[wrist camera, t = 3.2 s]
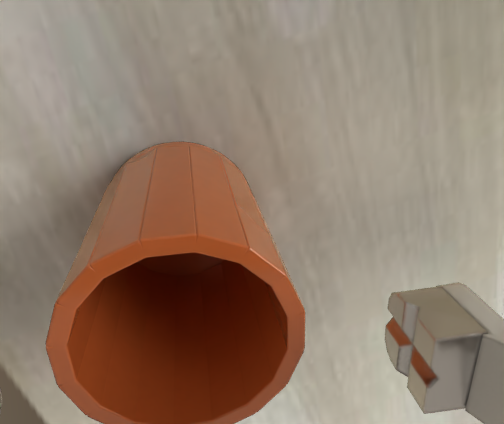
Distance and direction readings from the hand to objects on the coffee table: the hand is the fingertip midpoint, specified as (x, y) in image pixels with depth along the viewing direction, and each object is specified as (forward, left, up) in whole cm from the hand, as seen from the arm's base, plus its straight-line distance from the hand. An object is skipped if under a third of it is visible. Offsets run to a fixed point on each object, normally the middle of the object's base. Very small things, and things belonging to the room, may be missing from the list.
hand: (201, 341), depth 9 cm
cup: (0, 0, -7) cm, 7 cm away
